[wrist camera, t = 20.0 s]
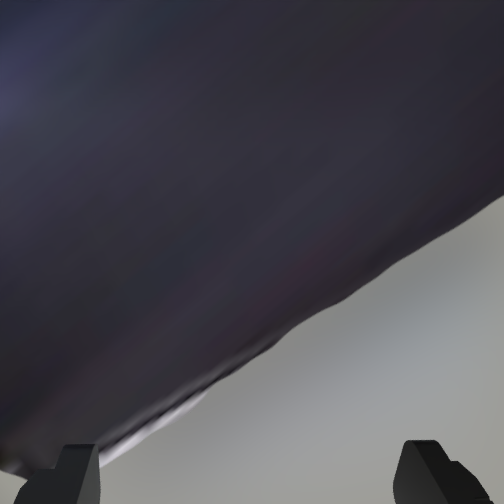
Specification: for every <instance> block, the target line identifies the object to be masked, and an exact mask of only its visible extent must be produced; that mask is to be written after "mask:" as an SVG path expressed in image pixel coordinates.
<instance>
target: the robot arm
mask: <svg viewBox="0 0 504 504" xmlns="http://www.w3.org/2000/svg"><path fill="white" fill-rule="evenodd" d="M393 493H394V499H395V502H396V504H494V503H493V502H492V501H490V499H489V496H488V494H487V493H486V491H485V490H484V488H483V487H482V485H481V484H480V482H479V481H478V479H477V478H476V477H475V476H474V475H473V474H472V473H471V472H470V471H468V470H467V469H466V468H465V467H464V466H463V465H462V464H461V463H459V462H458V461H450V459H449V458H448V456H447V454H446V453H445V451H444V450H443V448H442V447H441V445H440V444H439V443H438V442H437V441H435V440H408V441H406V442H405V443H404V446H403V449H402V453H401V456H400V460H399V463H398V467H397V470H396V474H395V477H394V482H393ZM99 503H100V472H99V456H98V446H97V444H75V445H65V446H64V447H63V449H62V451H61V454H60V456H59V459H58V461H57V464H56V467H55V469H38V470H37V471H36V472H35V473H34V474H33V475H32V476H31V477H30V479H29V480H28V481H27V482H26V483H25V484H24V485H23V486H22V487H21V488H20V490H19V492H18V495H17V497H16V499H15V501H14V504H99Z"/></svg>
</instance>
